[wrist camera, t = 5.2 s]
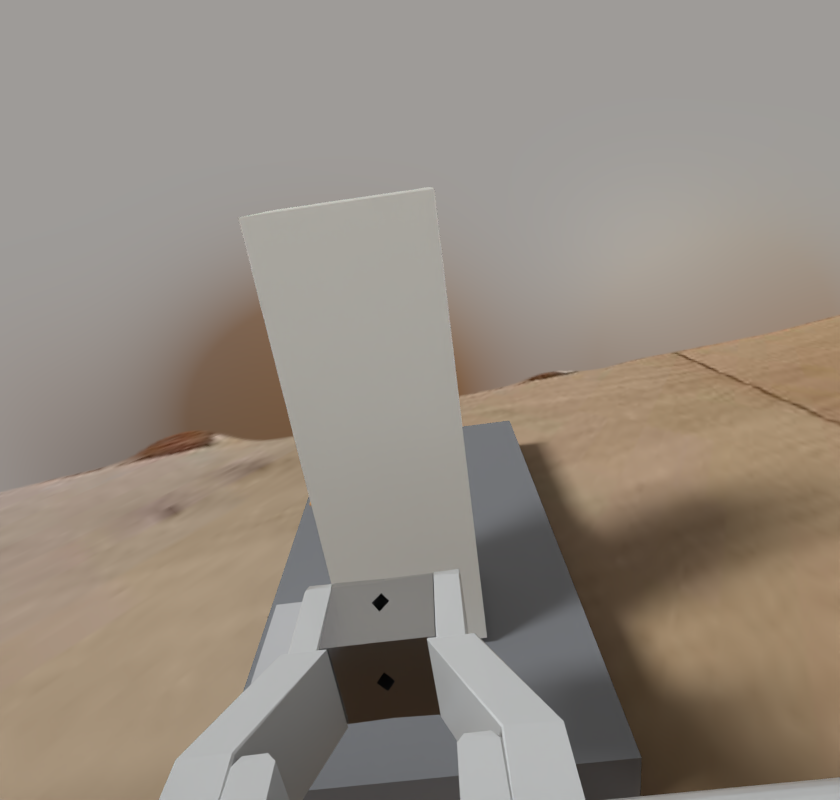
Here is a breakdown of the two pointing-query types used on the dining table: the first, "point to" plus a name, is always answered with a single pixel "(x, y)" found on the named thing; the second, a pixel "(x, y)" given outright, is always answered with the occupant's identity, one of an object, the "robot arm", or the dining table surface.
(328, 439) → the switch tab
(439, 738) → the switch panel
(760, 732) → the dining table surface
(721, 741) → the dining table surface
